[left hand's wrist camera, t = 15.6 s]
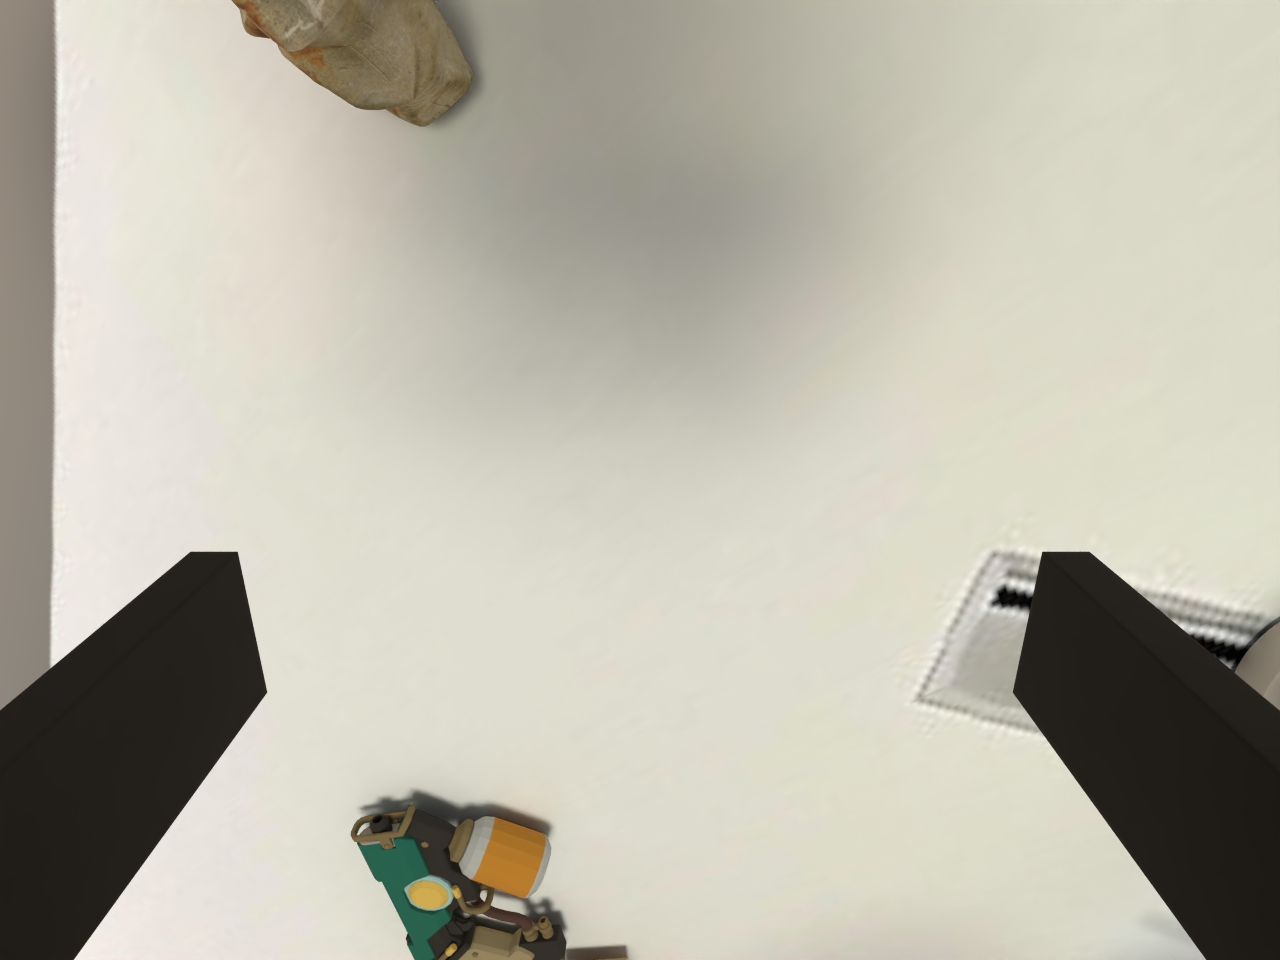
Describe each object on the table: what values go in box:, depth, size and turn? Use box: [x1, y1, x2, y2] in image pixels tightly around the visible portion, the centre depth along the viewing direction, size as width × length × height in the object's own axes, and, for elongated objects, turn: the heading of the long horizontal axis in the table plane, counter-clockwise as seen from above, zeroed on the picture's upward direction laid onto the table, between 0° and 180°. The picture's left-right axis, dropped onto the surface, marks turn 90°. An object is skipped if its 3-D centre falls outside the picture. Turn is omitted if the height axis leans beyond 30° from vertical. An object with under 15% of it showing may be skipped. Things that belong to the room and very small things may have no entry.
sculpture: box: [232, 0, 473, 126], centre depth 31 cm, size 6×7×15 cm
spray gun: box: [351, 806, 566, 960], centre depth 56 cm, size 4×17×15 cm
